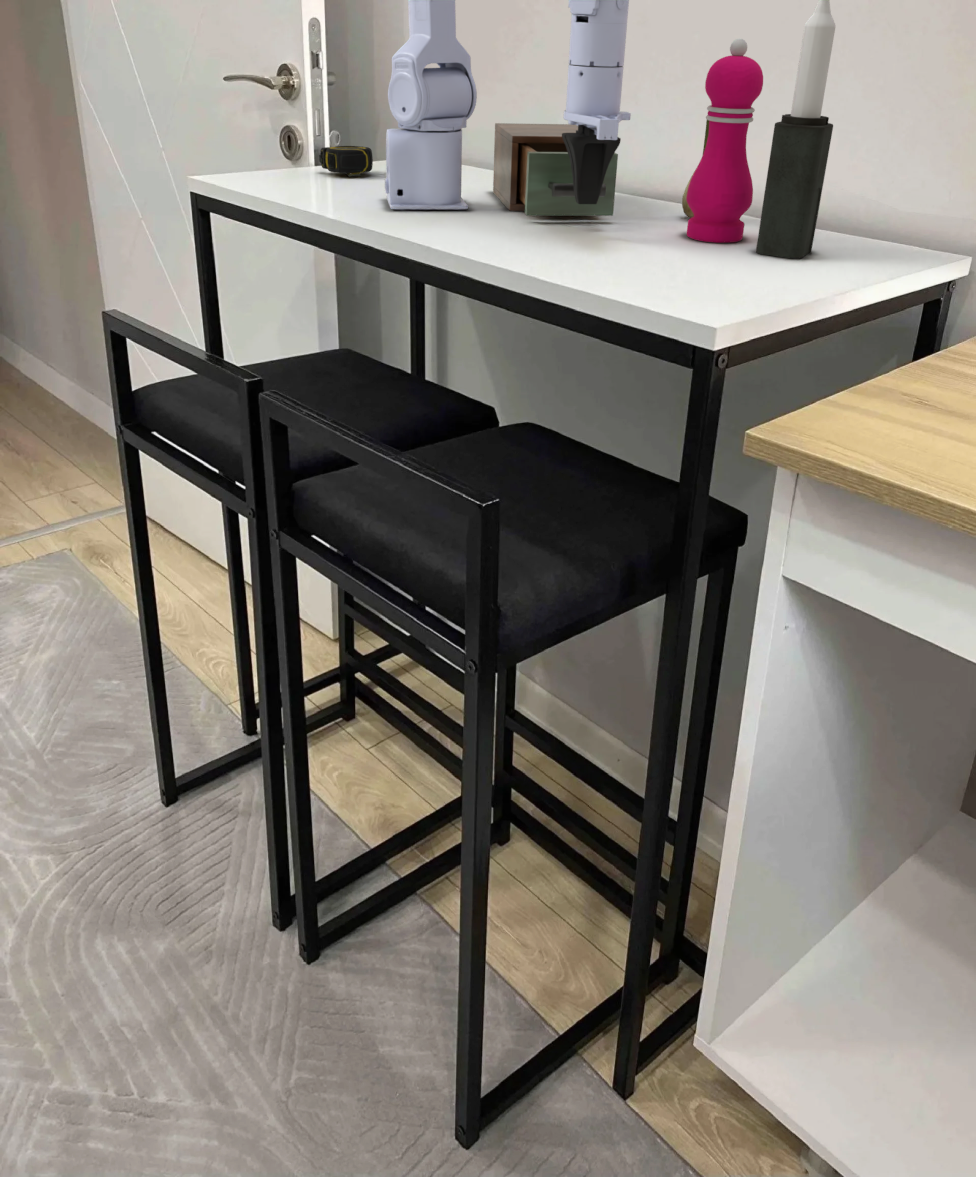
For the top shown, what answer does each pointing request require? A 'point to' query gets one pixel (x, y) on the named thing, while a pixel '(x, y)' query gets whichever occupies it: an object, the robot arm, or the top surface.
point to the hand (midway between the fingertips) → (586, 203)
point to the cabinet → (508, 155)
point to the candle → (800, 150)
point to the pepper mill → (725, 150)
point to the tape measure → (346, 159)
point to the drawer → (557, 183)
